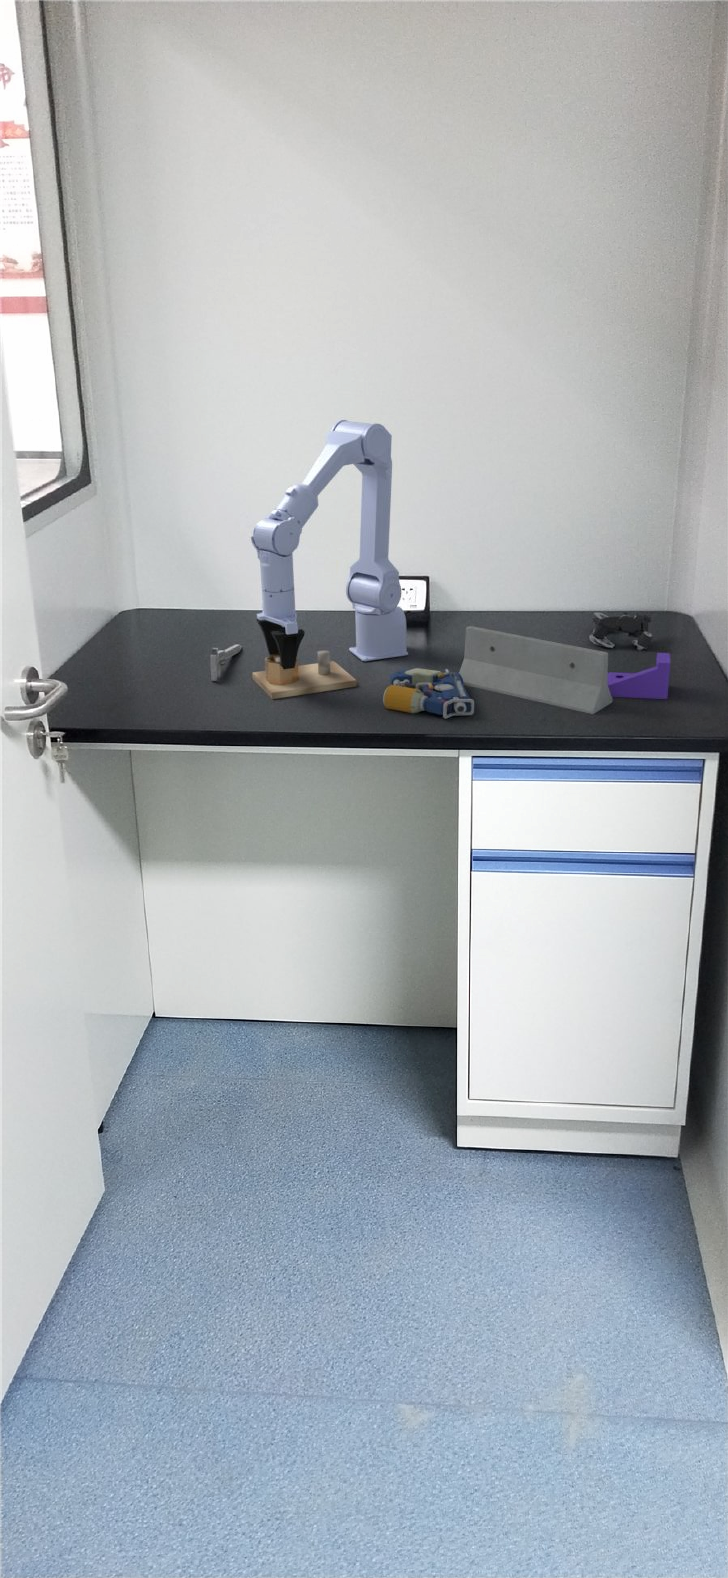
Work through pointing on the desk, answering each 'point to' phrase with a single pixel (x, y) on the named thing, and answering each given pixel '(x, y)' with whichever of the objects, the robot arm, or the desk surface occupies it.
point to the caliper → (221, 659)
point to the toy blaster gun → (428, 693)
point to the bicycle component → (621, 629)
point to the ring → (279, 671)
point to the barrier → (536, 669)
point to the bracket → (642, 681)
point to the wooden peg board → (309, 679)
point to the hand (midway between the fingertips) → (282, 661)
